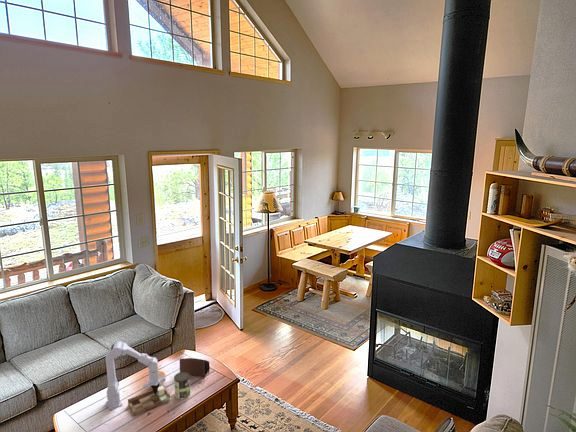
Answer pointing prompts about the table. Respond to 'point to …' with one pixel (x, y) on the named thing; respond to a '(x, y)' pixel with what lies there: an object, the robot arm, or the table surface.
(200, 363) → the letter holder
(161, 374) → the lidded jar
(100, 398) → the table surface
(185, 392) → the coffee can
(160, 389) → the cream block
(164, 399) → the board
